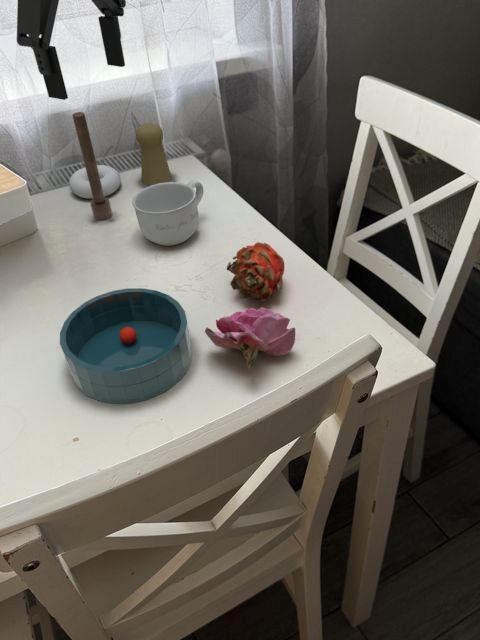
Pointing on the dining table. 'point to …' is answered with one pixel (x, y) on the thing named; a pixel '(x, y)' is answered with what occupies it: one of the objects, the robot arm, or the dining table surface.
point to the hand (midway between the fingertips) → (89, 80)
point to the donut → (107, 177)
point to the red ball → (128, 335)
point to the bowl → (127, 345)
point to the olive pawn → (152, 155)
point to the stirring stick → (91, 169)
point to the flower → (254, 333)
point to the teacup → (168, 211)
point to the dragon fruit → (257, 271)
